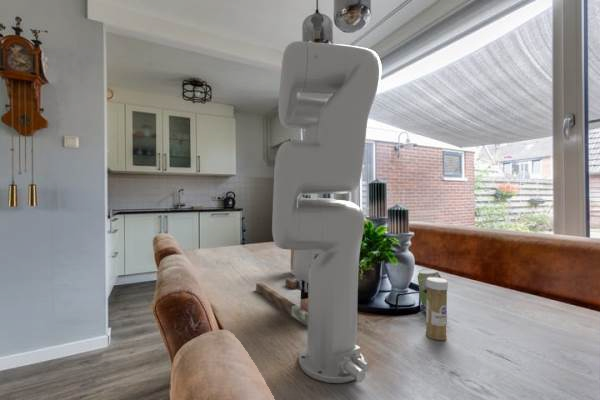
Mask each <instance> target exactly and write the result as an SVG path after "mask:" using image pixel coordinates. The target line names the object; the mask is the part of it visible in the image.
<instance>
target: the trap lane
mask: <svg viewBox="0 0 600 400" xmlns="http://www.w3.org/2000/svg"><path fill="white" fill-rule="evenodd" d="M284 279H285V285H284V286H286V287H288V288H289V289H291V290H295V289H298V290H300V284H299V282H298V281H297V280H296V279H293V278H291V277H288V278H284ZM255 286H256V287H255V291H256V292H258V293H259V294H260V295H262V296H263V297H265V298H266V299H268V300H269V301H270V302H272V303H273V304H275V305H276V306H277V307H279V308H280V309H282V310H283V311H284V312H286V313H287V314H289V315H290V316H291V317H293V318H294V319H296V320H297V321H298V322H300V323H301V324H303V326H306V327H307V328H308V312H306V311H305V310H303V309H301V308H300V306H298V305H297V304H295V303H294V302H292V301H291V300H288V299H287V298H285V297H284V296H283V295H281V294H279V293H278V292H277V291H274V290H273V289H272V288H270V287H268V286H266V285H265V284H263V283H262V282H256V284H255ZM300 291H301V290H300Z"/></svg>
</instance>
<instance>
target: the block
mask: <svg viewBox="0 0 600 400" xmlns="http://www.w3.org/2000/svg"><path fill="white" fill-rule="evenodd" d="M299 302H300V305H299V307H300V308H301V309H303V310H305V311H306V312H308V298H306V299H301V298H300V301H299Z"/></svg>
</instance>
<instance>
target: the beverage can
mask: <svg viewBox="0 0 600 400" xmlns="http://www.w3.org/2000/svg"><path fill="white" fill-rule="evenodd" d="M429 277H437V278H441V277H442V276H441V275H440V273H439V272H438V270H436V269H422V270H419V271H418V275H417V284H418V289H419V294H420V295H419V297H420V303H421V309H422V311H423V312H424V313H426V299H427V286H426V279H427V278H429Z"/></svg>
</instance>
